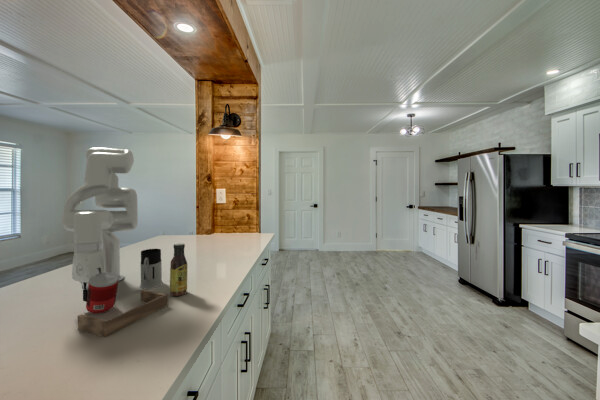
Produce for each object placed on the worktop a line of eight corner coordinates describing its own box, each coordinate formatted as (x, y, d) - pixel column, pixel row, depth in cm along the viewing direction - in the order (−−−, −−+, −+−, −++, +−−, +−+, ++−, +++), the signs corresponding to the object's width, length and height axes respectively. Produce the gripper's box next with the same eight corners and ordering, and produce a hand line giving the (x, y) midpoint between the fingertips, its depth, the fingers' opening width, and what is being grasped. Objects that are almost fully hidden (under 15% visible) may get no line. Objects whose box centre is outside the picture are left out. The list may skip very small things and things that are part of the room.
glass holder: (164, 280, 115) (164, 247, 115) (157, 292, 102) (156, 255, 101) (142, 282, 113) (142, 249, 112) (132, 294, 99) (131, 257, 99)
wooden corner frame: (77, 329, 75) (77, 315, 74) (143, 300, 94) (143, 289, 94) (105, 337, 70) (105, 323, 70) (167, 305, 90) (167, 294, 90)
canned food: (120, 305, 89) (124, 278, 87) (95, 317, 82) (98, 288, 79) (105, 296, 91) (109, 269, 89) (80, 307, 84) (83, 278, 82)
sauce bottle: (180, 297, 97) (179, 246, 96) (166, 296, 98) (165, 245, 97) (191, 291, 103) (190, 243, 103) (177, 289, 104) (177, 242, 104)
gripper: (62, 247, 86) (63, 301, 86) (90, 251, 81) (91, 307, 81) (87, 243, 93) (88, 293, 93) (114, 246, 88) (115, 298, 88)
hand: (89, 299), depth 87 cm, fingers closed
